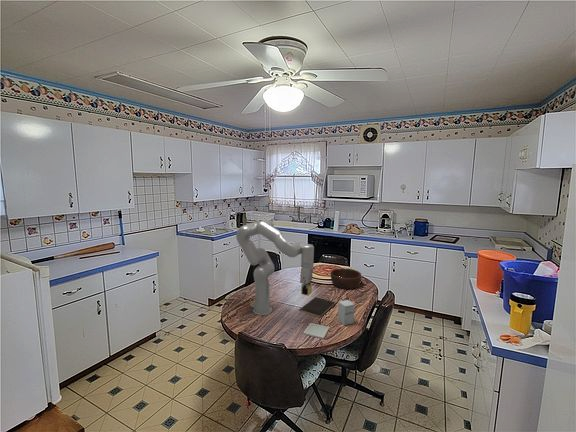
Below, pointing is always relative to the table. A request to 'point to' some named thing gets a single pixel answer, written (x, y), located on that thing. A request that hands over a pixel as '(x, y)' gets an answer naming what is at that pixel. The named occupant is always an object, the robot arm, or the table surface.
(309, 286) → the ochre cube
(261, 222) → the robot arm
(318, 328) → the mat
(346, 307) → the supplement box
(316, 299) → the hardcover book
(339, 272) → the wooden bowl
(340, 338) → the table surface
